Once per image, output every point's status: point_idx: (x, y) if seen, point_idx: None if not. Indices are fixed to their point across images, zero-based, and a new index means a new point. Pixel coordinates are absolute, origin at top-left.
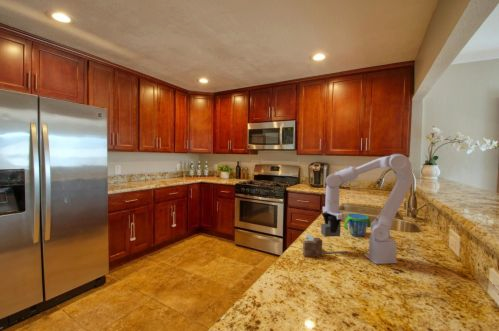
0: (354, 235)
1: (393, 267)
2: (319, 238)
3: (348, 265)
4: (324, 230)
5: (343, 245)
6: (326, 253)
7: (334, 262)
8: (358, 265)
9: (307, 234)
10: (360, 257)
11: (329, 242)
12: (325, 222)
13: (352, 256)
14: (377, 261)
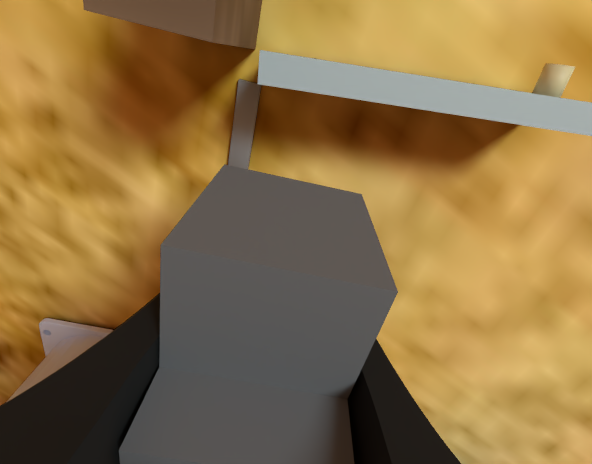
0: None
1: (17, 359)
2: (175, 15)
3: (18, 152)
4: (232, 206)
5: None
6: (234, 122)
7: (63, 73)
8: (24, 218)
9: (586, 105)
10: (137, 304)
11: (408, 284)
12: (387, 400)
13: (156, 272)
14: (57, 339)
